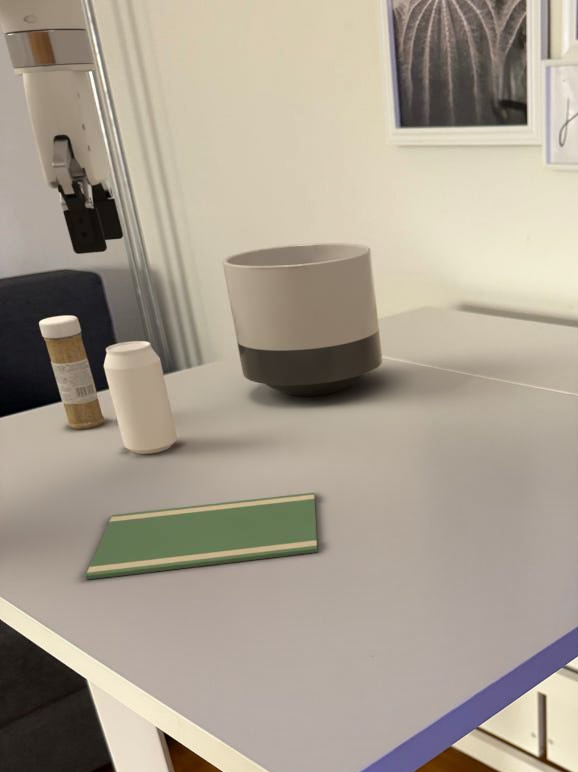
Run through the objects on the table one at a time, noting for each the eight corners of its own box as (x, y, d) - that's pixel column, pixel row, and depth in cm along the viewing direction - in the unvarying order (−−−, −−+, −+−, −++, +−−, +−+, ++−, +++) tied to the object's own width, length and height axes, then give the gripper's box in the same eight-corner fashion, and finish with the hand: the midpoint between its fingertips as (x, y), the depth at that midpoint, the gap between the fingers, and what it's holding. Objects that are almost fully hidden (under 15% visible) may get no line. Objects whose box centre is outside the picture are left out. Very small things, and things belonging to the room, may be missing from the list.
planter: (218, 395, 131) (192, 260, 122) (322, 364, 143) (305, 240, 134) (308, 416, 119) (286, 270, 110) (412, 381, 132) (400, 246, 123)
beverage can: (118, 458, 109) (91, 354, 103) (134, 441, 114) (109, 341, 108) (171, 455, 109) (147, 350, 103) (184, 438, 114) (162, 338, 108)
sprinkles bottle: (101, 417, 124) (73, 312, 117) (108, 425, 121) (80, 318, 114) (65, 424, 122) (35, 318, 115) (72, 432, 119) (41, 324, 112)
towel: (86, 579, 81) (85, 575, 81) (113, 518, 93) (112, 514, 92) (317, 552, 83) (316, 548, 83) (314, 496, 95) (314, 492, 95)
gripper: (34, 61, 97) (80, 238, 106) (-15, 55, 82) (44, 261, 91) (108, 56, 98) (148, 232, 106) (72, 49, 83) (122, 254, 92)
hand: (100, 245), depth 99 cm, fingers open, 9 cm apart
